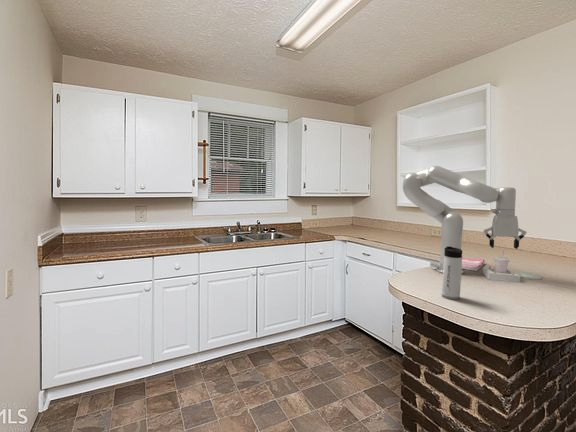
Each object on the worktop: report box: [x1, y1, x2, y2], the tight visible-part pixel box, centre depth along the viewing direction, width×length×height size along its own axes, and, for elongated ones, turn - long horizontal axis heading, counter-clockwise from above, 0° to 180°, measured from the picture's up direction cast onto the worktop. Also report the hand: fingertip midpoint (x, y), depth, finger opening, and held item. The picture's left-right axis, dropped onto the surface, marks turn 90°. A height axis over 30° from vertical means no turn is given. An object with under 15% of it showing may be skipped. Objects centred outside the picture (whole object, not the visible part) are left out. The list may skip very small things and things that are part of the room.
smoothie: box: [493, 249, 510, 274], centre depth 147 cm, size 6×6×14 cm
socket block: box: [482, 266, 521, 283], centre depth 147 cm, size 12×12×4 cm
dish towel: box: [461, 257, 485, 272], centre depth 172 cm, size 17×23×4 cm
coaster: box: [516, 272, 543, 280], centre depth 149 cm, size 10×10×1 cm
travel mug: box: [441, 246, 463, 301], centre depth 118 cm, size 6×7×20 cm
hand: (503, 247), depth 146 cm, fingers open, 9 cm apart
